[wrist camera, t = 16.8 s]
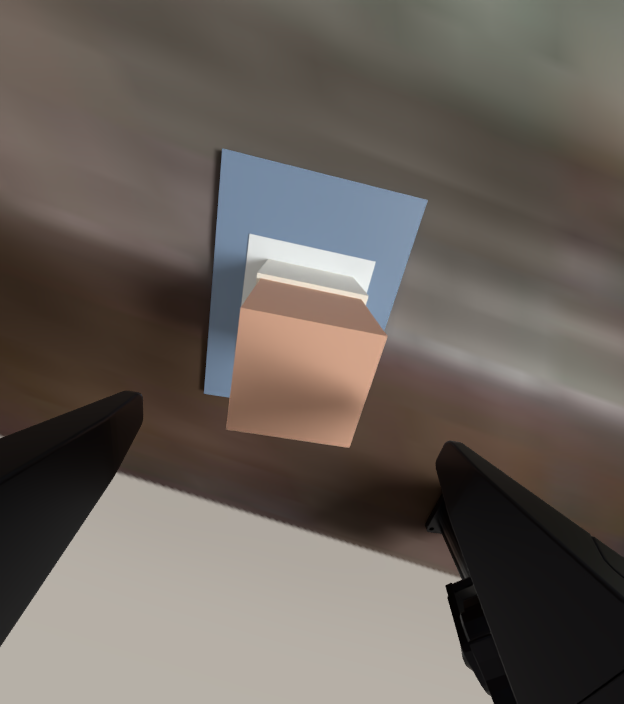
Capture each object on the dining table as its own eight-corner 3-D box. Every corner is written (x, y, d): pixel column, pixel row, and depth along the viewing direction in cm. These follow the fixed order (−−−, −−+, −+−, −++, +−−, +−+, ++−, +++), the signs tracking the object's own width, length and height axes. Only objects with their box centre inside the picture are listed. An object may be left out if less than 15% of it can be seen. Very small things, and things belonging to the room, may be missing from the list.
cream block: (332, 352, 21) (340, 389, 17) (256, 338, 21) (243, 373, 16) (353, 276, 19) (368, 296, 15) (268, 258, 19) (257, 272, 14)
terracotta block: (336, 384, 17) (349, 447, 12) (247, 369, 16) (225, 429, 12) (361, 299, 15) (387, 336, 10) (260, 278, 14) (240, 307, 10)
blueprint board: (354, 413, 24) (355, 418, 24) (206, 390, 23) (203, 394, 22) (424, 200, 18) (428, 200, 17) (224, 150, 17) (221, 148, 16)
